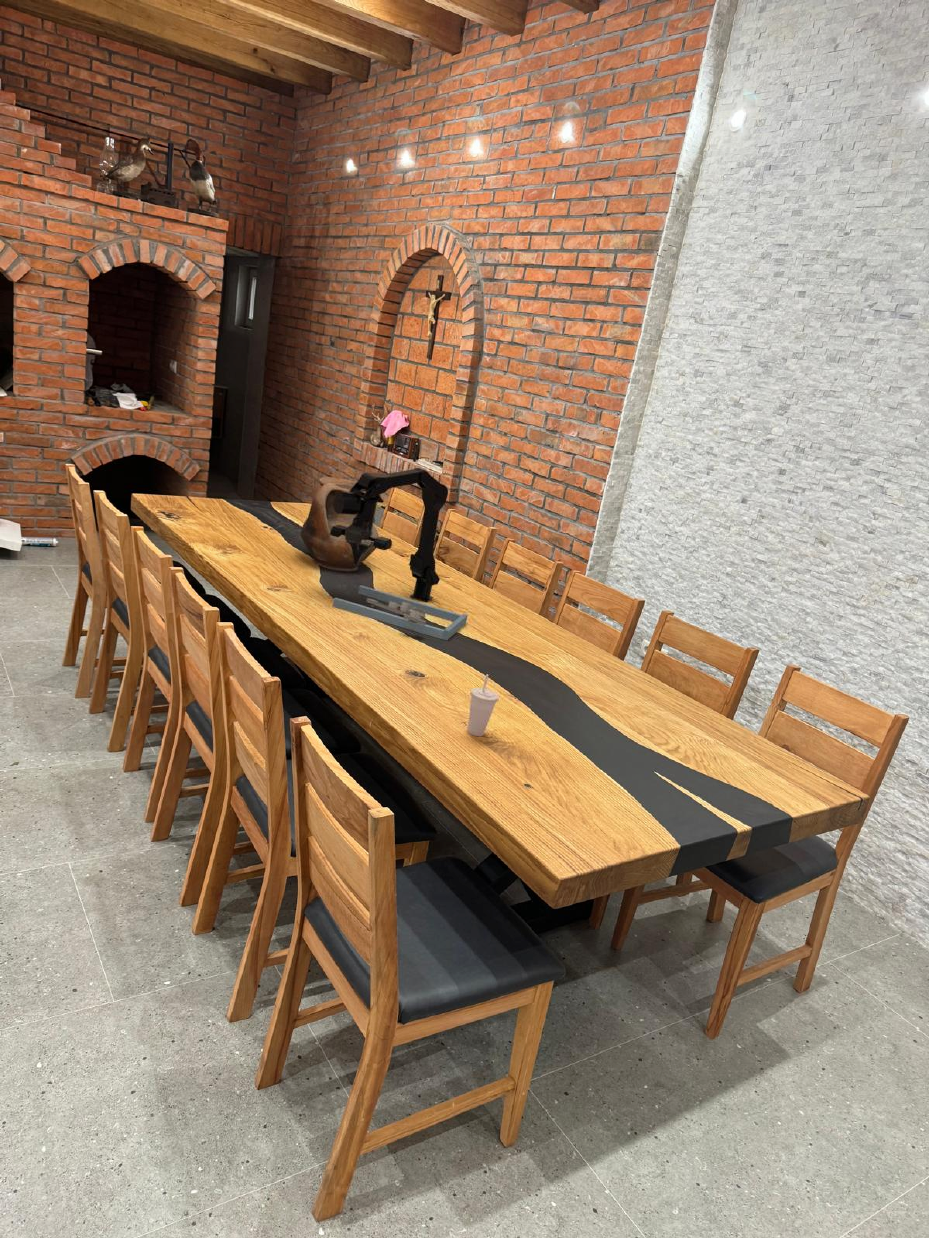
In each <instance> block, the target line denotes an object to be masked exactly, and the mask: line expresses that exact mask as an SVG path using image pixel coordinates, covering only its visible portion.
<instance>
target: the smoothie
mask: <svg viewBox="0 0 929 1238" xmlns="http://www.w3.org/2000/svg"><path fill="white" fill-rule="evenodd" d="M488 679H489V674H488V673H487V674H485V677H484V681H483V684H482V686H483V687H475V688H472V689H471V691H470V693H469V696H470V704H469V712H468V713H469V715H468V722H467V723H468V725H467V732H468V733H469V734H470V735H472V736H475V737H482V736H484V735H485V731H486V728H487V727H488V723H489V722H490V720H491V719H490V718H491V716H492V714H493V711H494V708H495V706H496V703H498V701H499V698H500V697H499V694H498V693H496V692H495V691H493V690H492V689H488V688H486V686H487V683H488Z"/></svg>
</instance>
